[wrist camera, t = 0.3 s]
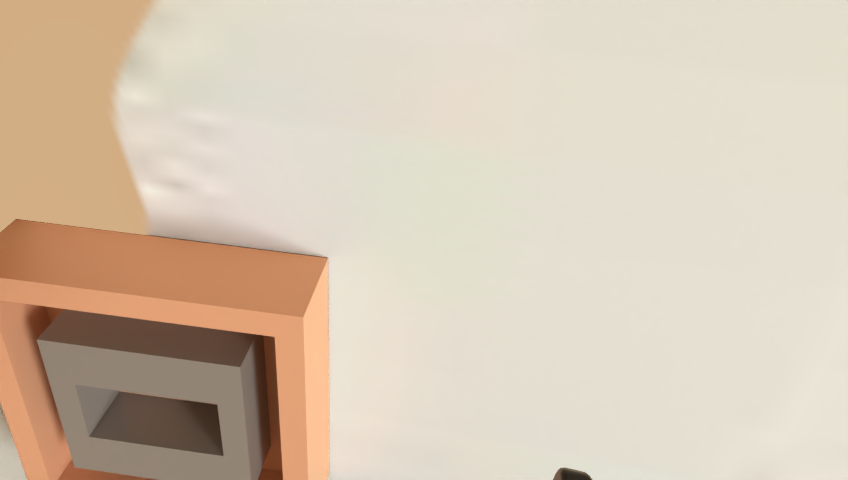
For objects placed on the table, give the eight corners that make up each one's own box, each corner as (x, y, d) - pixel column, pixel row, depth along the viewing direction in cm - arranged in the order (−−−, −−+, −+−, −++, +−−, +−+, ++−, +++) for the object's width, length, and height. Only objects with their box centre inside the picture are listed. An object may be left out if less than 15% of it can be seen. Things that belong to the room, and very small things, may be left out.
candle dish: (329, 473, 33) (309, 541, 30) (77, 437, 33) (34, 500, 30) (328, 257, 26) (303, 317, 23) (16, 219, 27) (-47, 271, 24)
